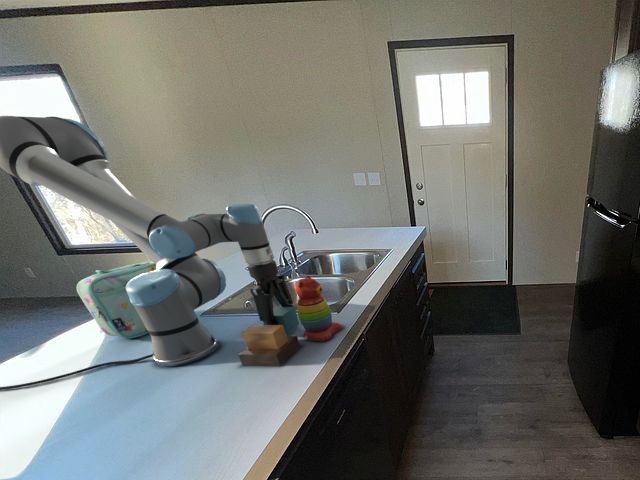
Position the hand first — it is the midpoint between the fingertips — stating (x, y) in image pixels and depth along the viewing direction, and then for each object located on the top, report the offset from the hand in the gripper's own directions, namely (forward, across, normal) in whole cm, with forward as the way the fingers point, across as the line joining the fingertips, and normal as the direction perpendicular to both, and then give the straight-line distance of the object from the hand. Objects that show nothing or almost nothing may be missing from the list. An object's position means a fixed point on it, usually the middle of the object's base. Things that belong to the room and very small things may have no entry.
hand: (285, 332), depth 121 cm
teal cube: (-2, 0, 0) cm, 2 cm away
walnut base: (0, -15, -5) cm, 16 cm away
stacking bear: (0, -1, -13) cm, 13 cm away
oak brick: (-4, -15, -5) cm, 16 cm away
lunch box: (0, +4, +49) cm, 49 cm away
